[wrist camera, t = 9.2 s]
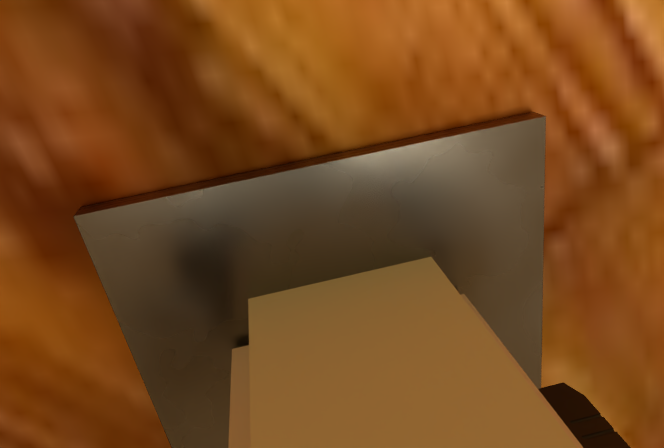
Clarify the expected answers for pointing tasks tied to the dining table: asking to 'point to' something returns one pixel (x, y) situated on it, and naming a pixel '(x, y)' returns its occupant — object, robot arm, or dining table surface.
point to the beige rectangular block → (386, 369)
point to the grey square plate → (319, 251)
